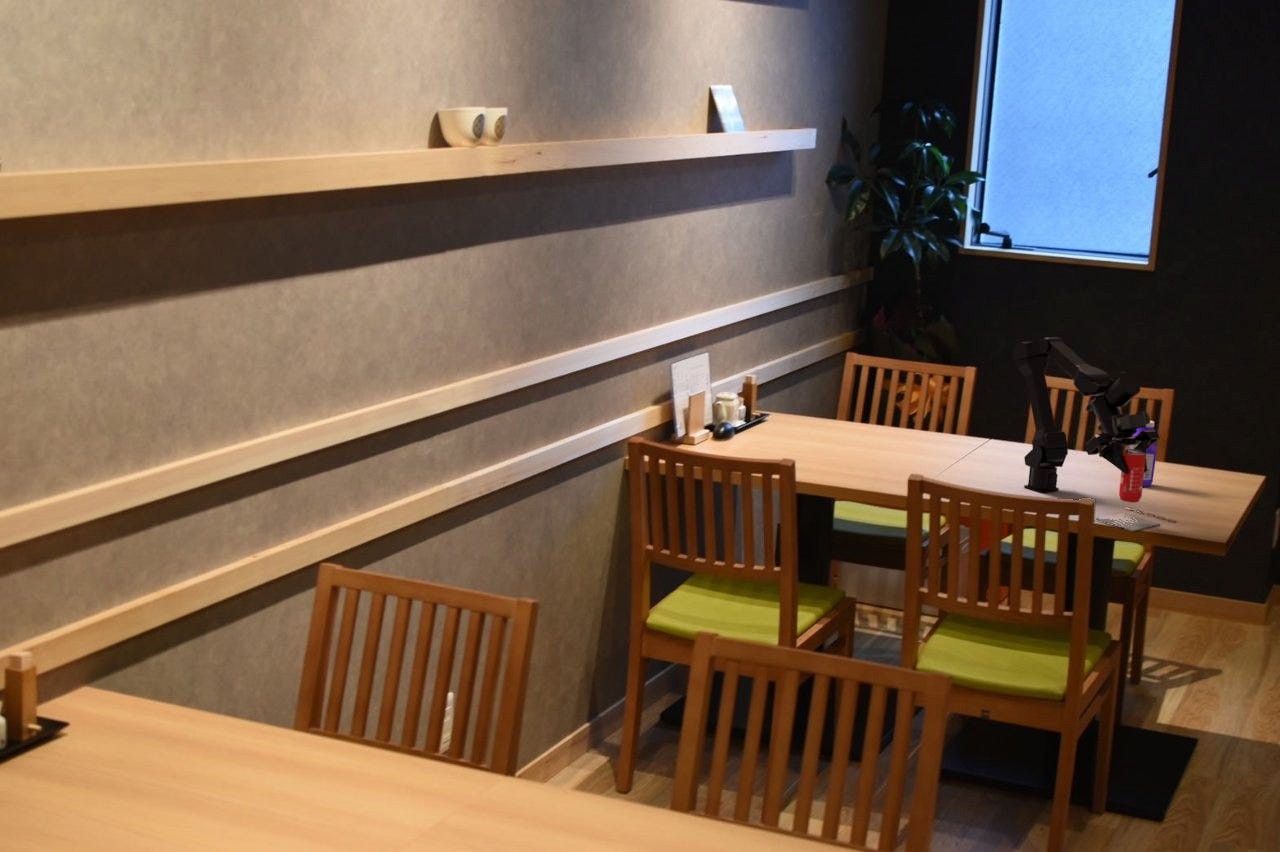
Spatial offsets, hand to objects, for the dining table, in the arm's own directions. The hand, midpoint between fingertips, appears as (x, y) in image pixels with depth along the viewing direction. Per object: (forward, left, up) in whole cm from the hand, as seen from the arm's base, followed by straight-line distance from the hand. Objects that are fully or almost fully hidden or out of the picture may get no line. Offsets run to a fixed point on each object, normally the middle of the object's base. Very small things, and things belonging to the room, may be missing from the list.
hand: (1136, 472), depth 365 cm
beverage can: (-1, +1, -7) cm, 7 cm away
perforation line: (-2, +11, -13) cm, 17 cm away
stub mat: (-1, 0, -13) cm, 13 cm away
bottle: (-22, +35, -13) cm, 44 cm away
